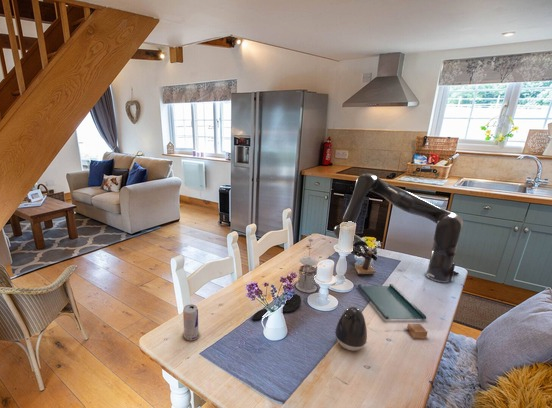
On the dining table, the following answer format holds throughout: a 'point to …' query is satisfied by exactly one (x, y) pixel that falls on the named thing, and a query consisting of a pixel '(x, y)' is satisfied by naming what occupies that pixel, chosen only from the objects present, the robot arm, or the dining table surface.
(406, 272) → the dining table surface
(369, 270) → the wooden dowel stand
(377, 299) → the tray
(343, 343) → the black egg shaped diffuser
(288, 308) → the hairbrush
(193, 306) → the energy drink
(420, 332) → the cork chunk
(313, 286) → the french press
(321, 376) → the dining table surface
